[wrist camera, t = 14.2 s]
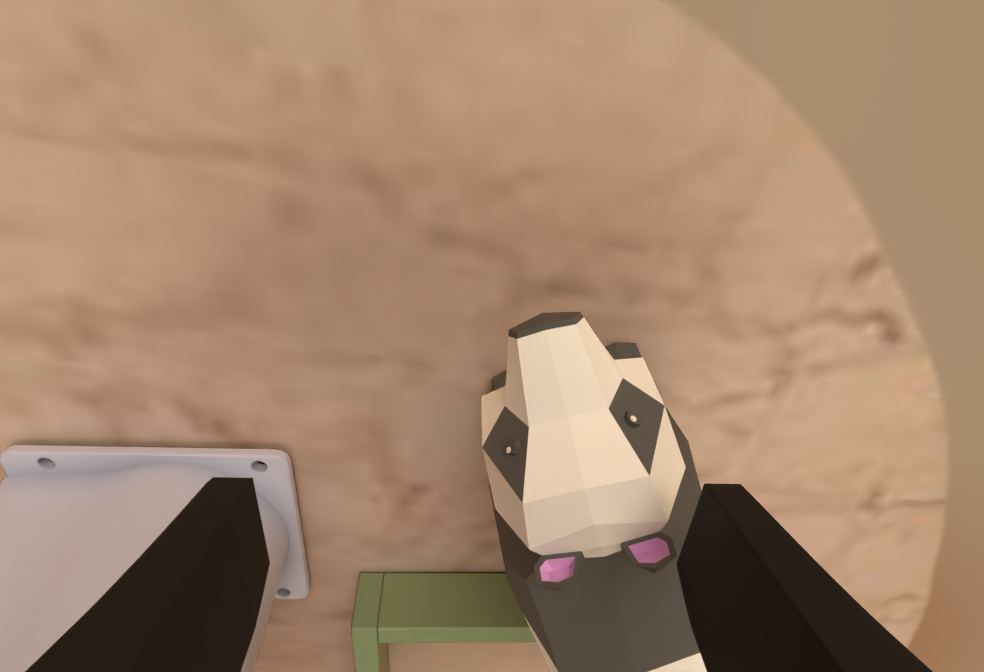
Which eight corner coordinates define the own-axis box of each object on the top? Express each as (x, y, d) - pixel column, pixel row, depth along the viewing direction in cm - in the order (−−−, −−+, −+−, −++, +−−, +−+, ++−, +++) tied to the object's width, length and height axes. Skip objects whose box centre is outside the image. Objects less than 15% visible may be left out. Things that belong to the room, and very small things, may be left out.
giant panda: (682, 534, 24) (788, 825, 16) (546, 562, 25) (578, 854, 16) (619, 181, 17) (752, 371, 9) (430, 233, 18) (383, 456, 9)
